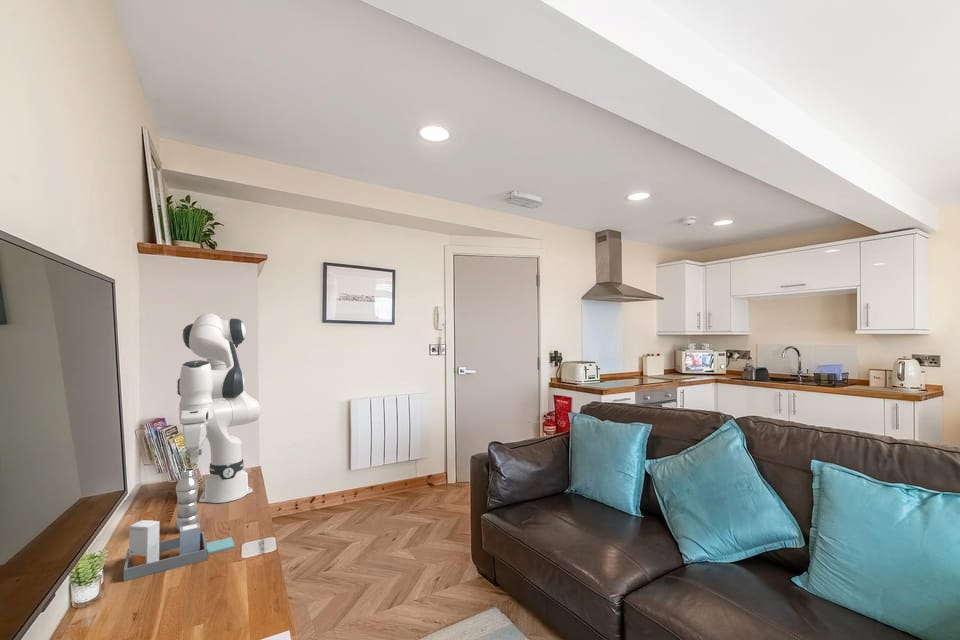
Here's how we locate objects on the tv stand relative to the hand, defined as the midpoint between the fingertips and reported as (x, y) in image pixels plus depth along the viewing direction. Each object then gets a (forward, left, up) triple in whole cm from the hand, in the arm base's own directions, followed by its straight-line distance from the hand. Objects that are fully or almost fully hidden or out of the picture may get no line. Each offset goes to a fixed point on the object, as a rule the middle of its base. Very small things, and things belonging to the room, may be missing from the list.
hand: (196, 458), depth 137 cm
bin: (+2, -7, -28) cm, 29 cm away
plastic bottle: (-18, -2, -28) cm, 33 cm away
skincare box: (+2, -13, -28) cm, 31 cm away
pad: (+2, +6, -28) cm, 29 cm away
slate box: (+2, -2, -28) cm, 28 cm away
